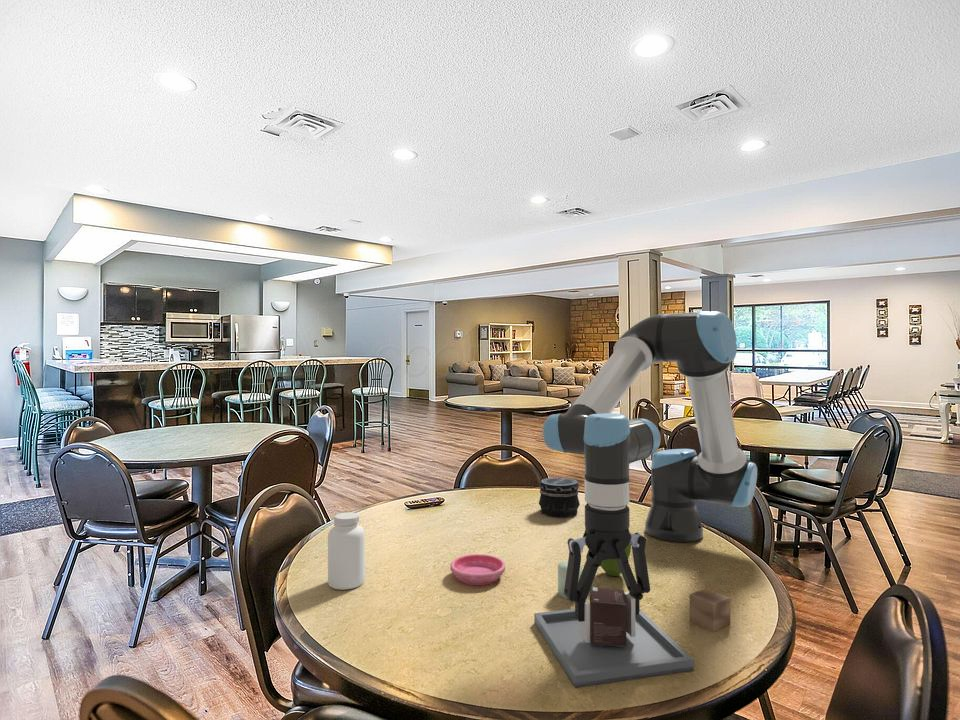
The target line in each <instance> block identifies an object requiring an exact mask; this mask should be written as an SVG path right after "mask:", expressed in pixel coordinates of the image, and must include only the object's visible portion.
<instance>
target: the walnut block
mask: <svg viewBox="0 0 960 720" xmlns="http://www.w3.org/2000/svg"><path fill="white" fill-rule="evenodd" d="M689 621H690V622H692V623H694V624H696V625H699V626H700V627H702V628H705V629H706V630H708V631H710V632H712V633H713V632H716V631H718V630H721V629H723V628H726V627H729V626H730V625H731V597H729V596H727V595H724V594H721V593H719V592H716V591H714V590H711V589H709V588H708V587H706V588H703V589H701V590H698V591H695V592H692V593H690V594H689Z"/></svg>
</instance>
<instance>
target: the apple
mask: <svg viewBox="0 0 960 720" xmlns="http://www.w3.org/2000/svg"><path fill="white" fill-rule="evenodd" d="M631 551H632V545H631V544H630V542H629V544H628V546H627V547H626V549H625V553H626V555H627V558H628V559H629V558H630V555H631ZM600 568H601V569H602V570H603V571H604V573H606V575H608V576H612V577H613V576H614V577H619V576H620V575H622V574H621V571H620V569H619V566H618V564H617V561H616V559H607V560H603V561H602V563H601V565H600Z"/></svg>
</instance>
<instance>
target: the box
mask: <svg viewBox="0 0 960 720" xmlns="http://www.w3.org/2000/svg"><path fill="white" fill-rule="evenodd" d="M624 593H625V590H624V589H623V588H607V587H595V586H594V587H593V586H591V588H590V591H589V604H590V642H591V644H599V645H612V646H623V647H626V600H625V595H624Z"/></svg>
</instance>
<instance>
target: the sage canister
mask: <svg viewBox="0 0 960 720" xmlns="http://www.w3.org/2000/svg"><path fill="white" fill-rule="evenodd" d="M567 566H568V560H563V561H560V562H558V563H557V595H558V596H559V597H561V598H562V599H566V600H569V599H568V598H567V596H566V595H565V594H564V588H565V581H566V573H567ZM582 570H583V565H582V564H580V571H579V578H578V581H579V579H580V576H581V573H582Z"/></svg>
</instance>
